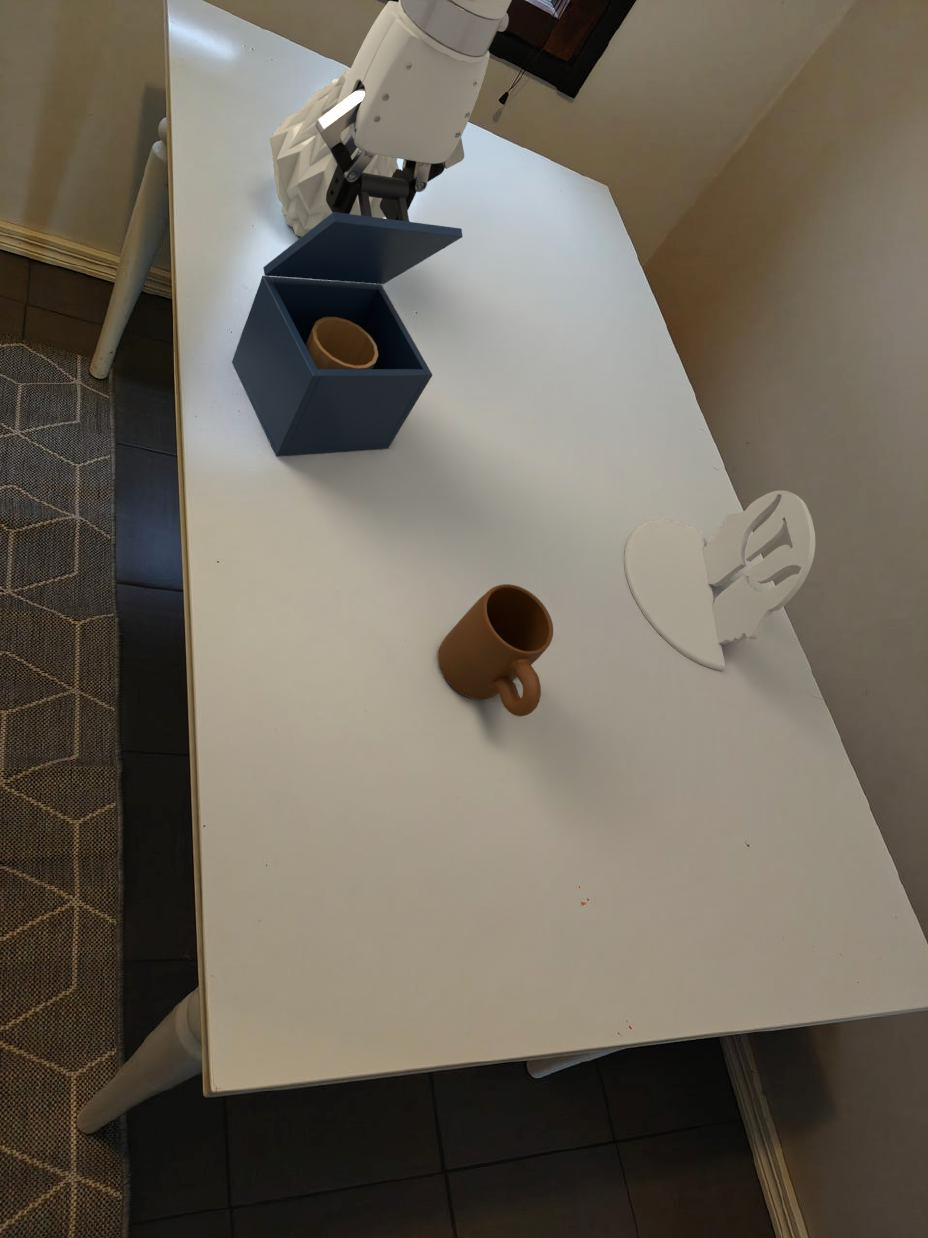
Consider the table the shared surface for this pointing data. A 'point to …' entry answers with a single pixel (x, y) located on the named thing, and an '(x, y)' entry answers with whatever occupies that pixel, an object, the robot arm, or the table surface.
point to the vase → (314, 163)
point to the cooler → (326, 398)
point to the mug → (499, 648)
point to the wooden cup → (341, 345)
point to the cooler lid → (364, 241)
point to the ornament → (718, 575)
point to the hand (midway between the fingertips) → (363, 213)
